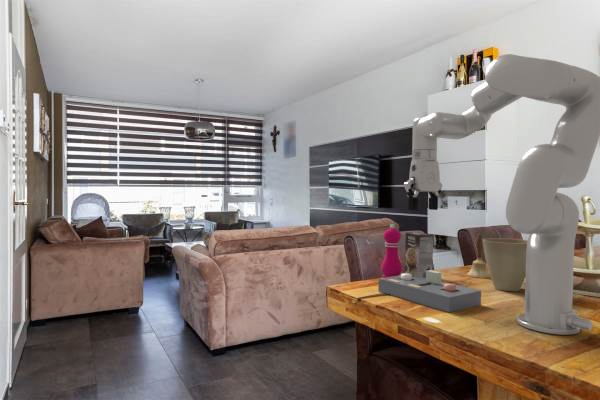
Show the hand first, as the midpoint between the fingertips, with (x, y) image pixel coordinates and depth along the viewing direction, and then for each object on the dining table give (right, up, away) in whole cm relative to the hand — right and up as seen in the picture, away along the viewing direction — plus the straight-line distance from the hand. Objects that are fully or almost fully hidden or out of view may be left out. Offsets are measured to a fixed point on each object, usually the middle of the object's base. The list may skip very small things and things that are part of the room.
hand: (423, 209), depth 129 cm
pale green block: (+1, -25, -8) cm, 26 cm away
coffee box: (+5, -26, +21) cm, 33 cm away
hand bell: (+28, -26, +23) cm, 45 cm away
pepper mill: (-7, -26, +13) cm, 30 cm away
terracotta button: (+3, -23, -16) cm, 28 cm away
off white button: (-6, -22, -3) cm, 23 cm away
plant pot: (+28, -26, +3) cm, 39 cm away
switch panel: (-2, -26, -9) cm, 28 cm away
